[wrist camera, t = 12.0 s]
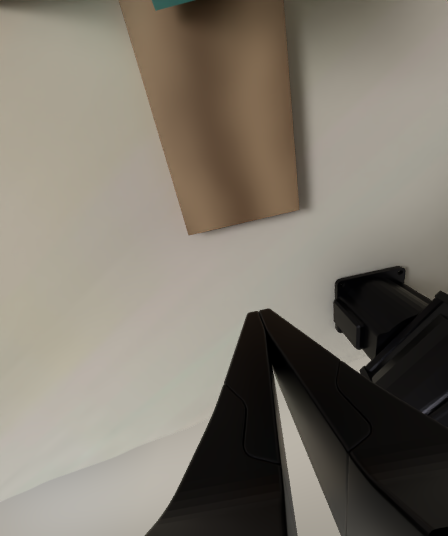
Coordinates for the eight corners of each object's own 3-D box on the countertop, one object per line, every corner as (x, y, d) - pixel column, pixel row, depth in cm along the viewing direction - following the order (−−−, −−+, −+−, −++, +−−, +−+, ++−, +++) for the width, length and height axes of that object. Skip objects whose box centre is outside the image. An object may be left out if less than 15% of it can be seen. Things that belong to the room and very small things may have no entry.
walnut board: (257, -223, 10) (263, -268, 9) (294, 207, 19) (299, 209, 18) (74, -165, 11) (58, -202, 10) (190, 231, 19) (188, 235, 18)
